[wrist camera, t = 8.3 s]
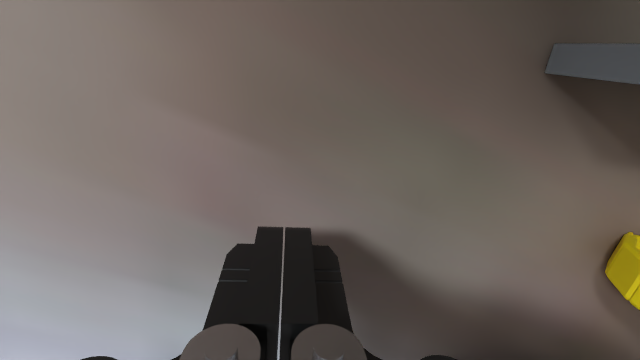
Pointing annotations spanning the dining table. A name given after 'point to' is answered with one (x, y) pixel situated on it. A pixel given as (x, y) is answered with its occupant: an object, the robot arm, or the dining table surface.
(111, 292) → the dining table surface
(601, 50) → the box
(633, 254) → the watch
